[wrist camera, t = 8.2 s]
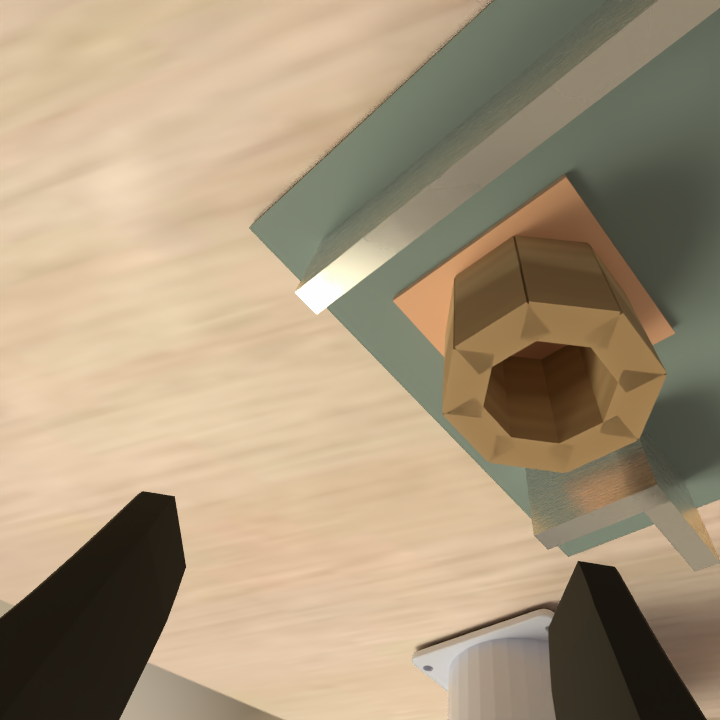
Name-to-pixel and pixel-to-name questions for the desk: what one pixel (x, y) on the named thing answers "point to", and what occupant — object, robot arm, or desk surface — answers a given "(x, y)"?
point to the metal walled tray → (476, 170)
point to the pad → (541, 220)
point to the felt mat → (520, 183)
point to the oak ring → (553, 373)
